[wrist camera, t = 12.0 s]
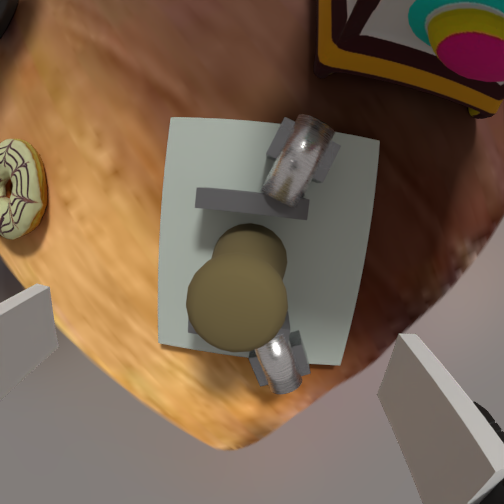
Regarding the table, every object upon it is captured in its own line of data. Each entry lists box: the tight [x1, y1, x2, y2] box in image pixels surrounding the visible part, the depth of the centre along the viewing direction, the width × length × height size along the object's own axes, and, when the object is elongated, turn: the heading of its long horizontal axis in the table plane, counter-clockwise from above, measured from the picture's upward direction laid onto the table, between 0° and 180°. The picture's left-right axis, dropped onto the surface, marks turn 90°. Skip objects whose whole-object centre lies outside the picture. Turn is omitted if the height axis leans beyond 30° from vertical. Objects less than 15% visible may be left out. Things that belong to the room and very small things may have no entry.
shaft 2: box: [249, 330, 311, 394], centre depth 24 cm, size 5×4×4 cm
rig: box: [158, 117, 380, 365], centre depth 23 cm, size 17×20×5 cm
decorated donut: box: [0, 139, 47, 240], centre depth 24 cm, size 10×11×4 cm
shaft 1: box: [260, 114, 341, 209], centre depth 21 cm, size 6×4×4 cm
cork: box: [186, 223, 288, 352], centre depth 19 cm, size 6×6×11 cm
